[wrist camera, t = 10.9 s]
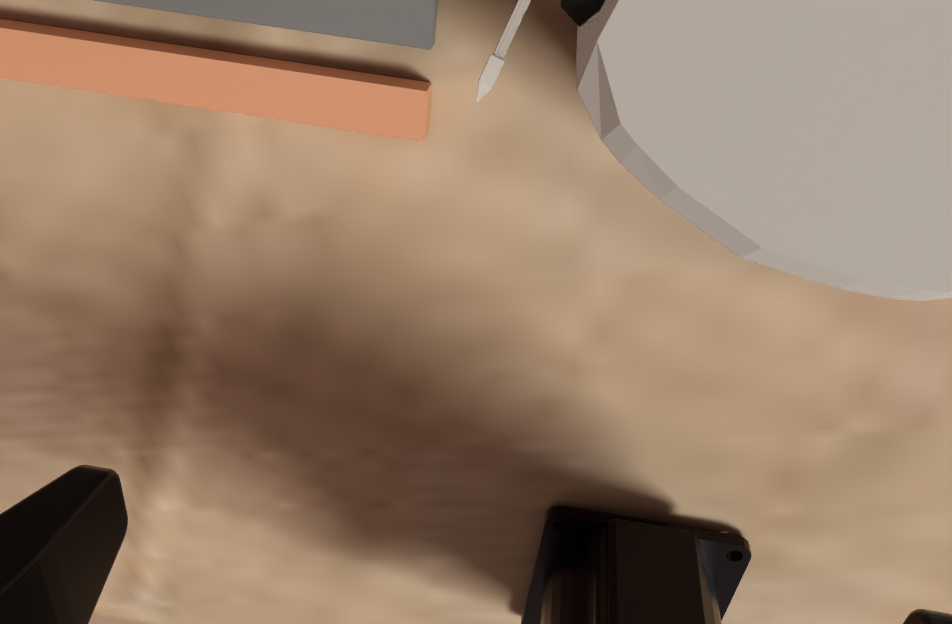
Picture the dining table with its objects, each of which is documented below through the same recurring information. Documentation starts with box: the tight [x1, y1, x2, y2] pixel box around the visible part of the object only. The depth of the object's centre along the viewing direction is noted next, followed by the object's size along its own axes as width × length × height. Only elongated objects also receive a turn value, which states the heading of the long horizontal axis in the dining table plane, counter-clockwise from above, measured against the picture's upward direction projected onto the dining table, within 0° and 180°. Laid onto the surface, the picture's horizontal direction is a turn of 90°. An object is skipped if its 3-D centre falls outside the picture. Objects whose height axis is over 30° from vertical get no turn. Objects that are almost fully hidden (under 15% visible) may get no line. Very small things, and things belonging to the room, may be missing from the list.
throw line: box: [0, 19, 431, 142], centre depth 19 cm, size 1×20×1 cm, turn 84°
